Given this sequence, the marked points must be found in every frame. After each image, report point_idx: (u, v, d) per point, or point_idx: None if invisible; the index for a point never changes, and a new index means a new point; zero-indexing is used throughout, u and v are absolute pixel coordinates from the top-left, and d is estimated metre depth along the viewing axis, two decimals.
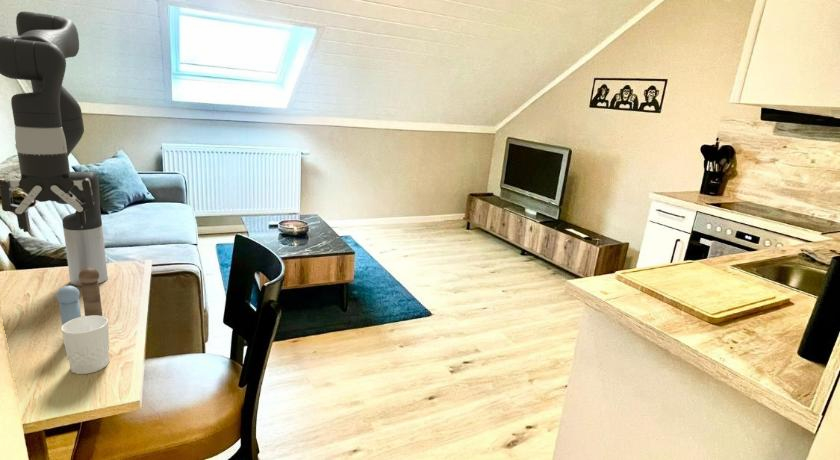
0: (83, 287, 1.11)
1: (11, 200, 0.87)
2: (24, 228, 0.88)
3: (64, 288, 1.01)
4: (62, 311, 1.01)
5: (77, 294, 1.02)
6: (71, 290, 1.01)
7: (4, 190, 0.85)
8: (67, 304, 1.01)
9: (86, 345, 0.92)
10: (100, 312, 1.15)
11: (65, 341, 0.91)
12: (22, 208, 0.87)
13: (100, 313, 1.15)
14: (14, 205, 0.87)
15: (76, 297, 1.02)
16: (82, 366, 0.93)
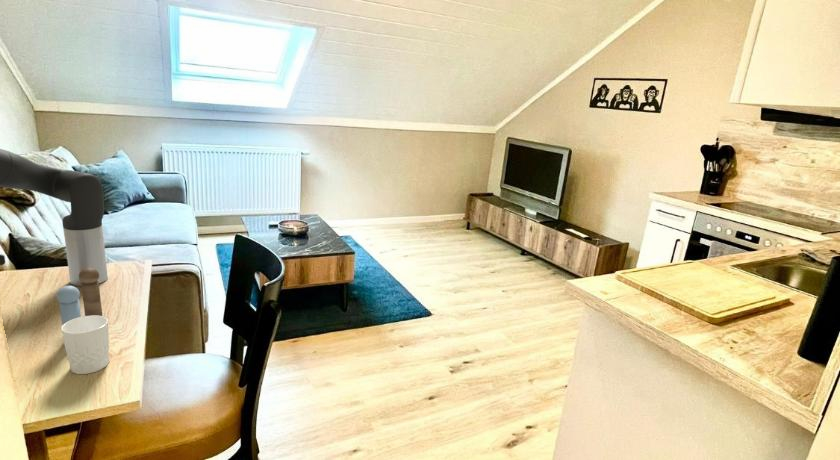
0: (83, 287, 1.11)
1: None
2: None
3: (64, 288, 1.01)
4: (62, 311, 1.01)
5: (77, 294, 1.02)
6: (71, 290, 1.01)
7: None
8: (67, 304, 1.01)
9: (86, 345, 0.92)
10: (100, 312, 1.15)
11: (65, 341, 0.91)
12: None
13: (100, 313, 1.15)
14: None
15: (76, 297, 1.02)
16: (82, 366, 0.93)
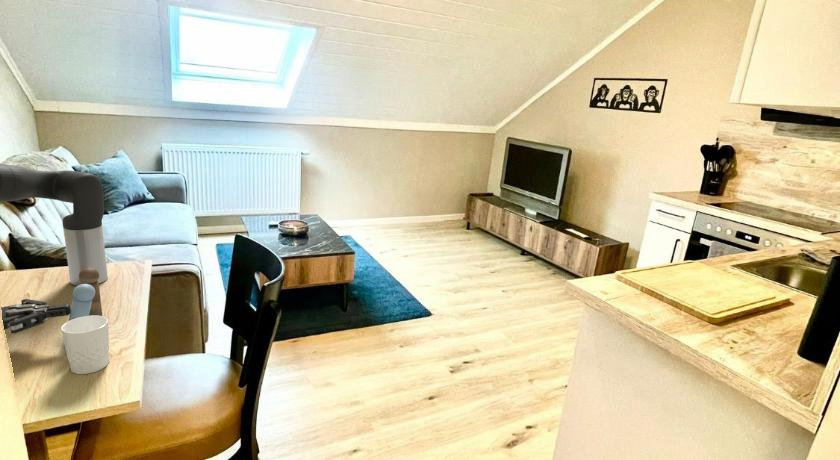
0: None
1: (37, 304, 1.02)
2: None
3: (83, 286, 1.02)
4: (73, 308, 1.02)
5: (93, 294, 1.03)
6: (89, 288, 1.03)
7: None
8: (81, 302, 1.02)
9: (86, 345, 0.92)
10: (100, 312, 1.15)
11: (65, 341, 0.91)
12: None
13: (100, 313, 1.15)
14: None
15: (91, 297, 1.03)
16: (82, 366, 0.93)
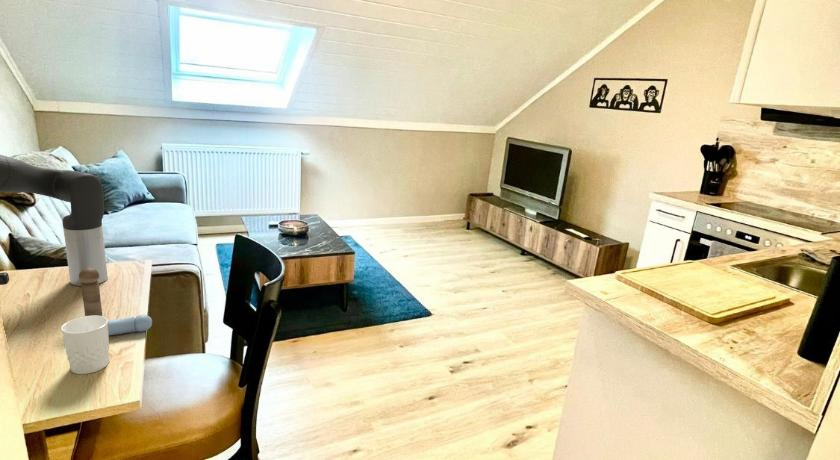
0: (83, 287, 1.11)
1: None
2: None
3: (151, 321, 1.12)
4: (125, 323, 1.08)
5: None
6: (149, 327, 1.11)
7: None
8: (134, 326, 1.09)
9: (86, 345, 0.92)
10: (100, 312, 1.15)
11: (65, 341, 0.91)
12: None
13: (100, 313, 1.15)
14: None
15: (141, 331, 1.11)
16: (82, 366, 0.93)
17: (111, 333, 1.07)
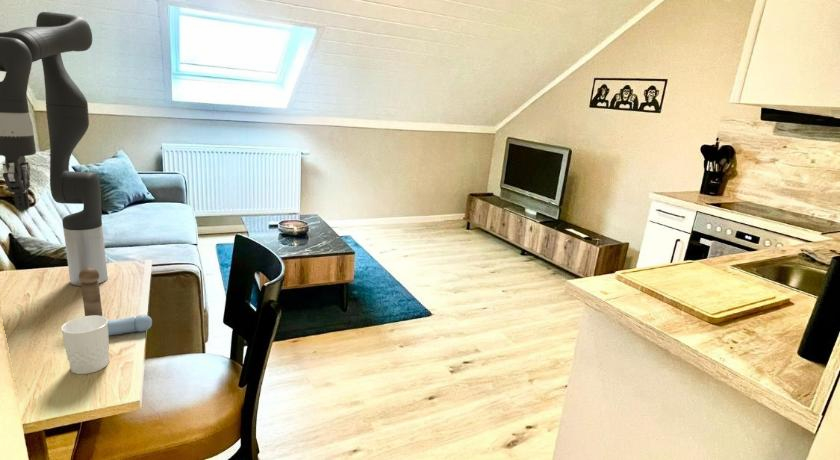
0: (83, 287, 1.11)
1: None
2: None
3: (151, 321, 1.12)
4: (125, 323, 1.08)
5: None
6: (149, 327, 1.11)
7: None
8: (134, 326, 1.09)
9: (86, 345, 0.92)
10: (100, 312, 1.15)
11: (65, 341, 0.91)
12: None
13: (100, 313, 1.15)
14: None
15: (141, 331, 1.11)
16: (82, 366, 0.93)
17: (111, 333, 1.07)
